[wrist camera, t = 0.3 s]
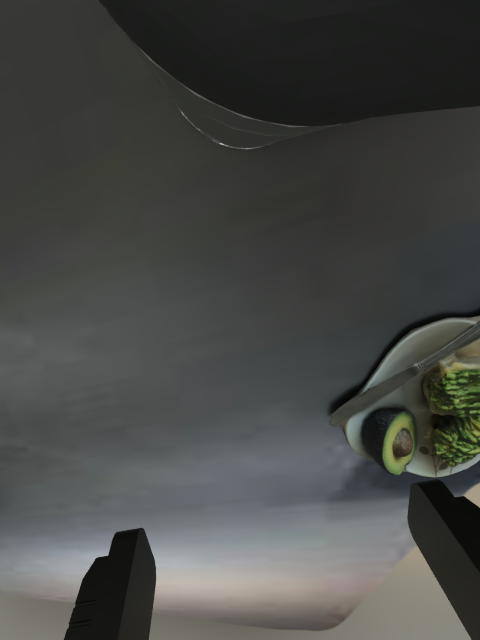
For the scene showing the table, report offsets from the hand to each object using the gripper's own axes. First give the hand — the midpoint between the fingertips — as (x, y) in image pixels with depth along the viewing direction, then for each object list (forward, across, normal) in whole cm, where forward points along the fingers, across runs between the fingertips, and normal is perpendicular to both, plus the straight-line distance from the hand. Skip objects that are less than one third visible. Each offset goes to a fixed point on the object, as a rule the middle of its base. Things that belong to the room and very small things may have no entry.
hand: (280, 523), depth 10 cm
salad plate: (+19, -18, +12) cm, 29 cm away
